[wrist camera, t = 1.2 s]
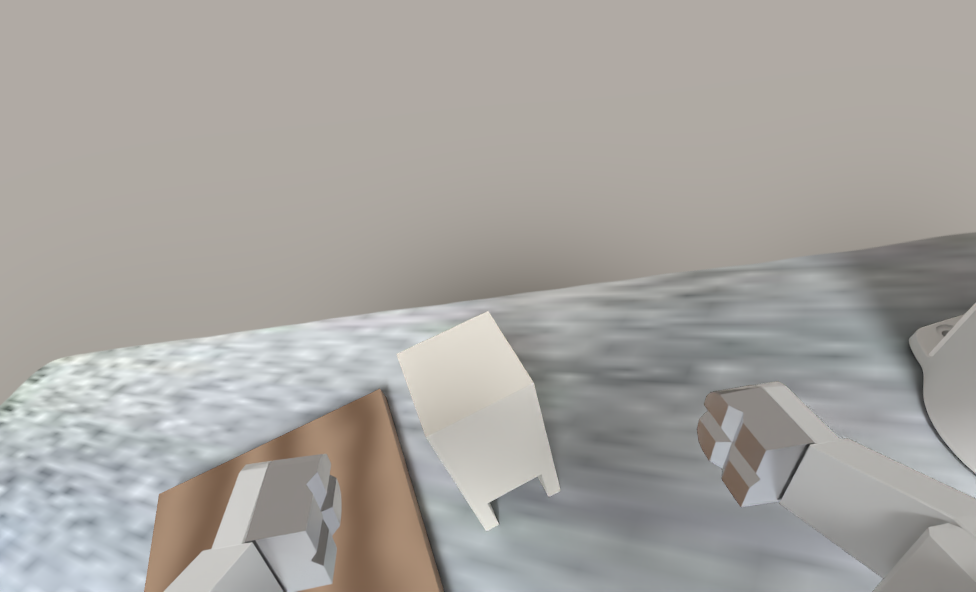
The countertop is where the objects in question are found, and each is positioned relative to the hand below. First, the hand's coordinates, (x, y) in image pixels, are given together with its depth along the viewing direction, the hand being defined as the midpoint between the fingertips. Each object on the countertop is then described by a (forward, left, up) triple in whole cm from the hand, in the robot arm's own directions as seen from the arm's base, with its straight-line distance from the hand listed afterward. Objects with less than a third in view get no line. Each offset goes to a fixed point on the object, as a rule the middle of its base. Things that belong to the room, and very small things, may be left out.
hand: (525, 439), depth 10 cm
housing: (0, -11, -24) cm, 27 cm away
